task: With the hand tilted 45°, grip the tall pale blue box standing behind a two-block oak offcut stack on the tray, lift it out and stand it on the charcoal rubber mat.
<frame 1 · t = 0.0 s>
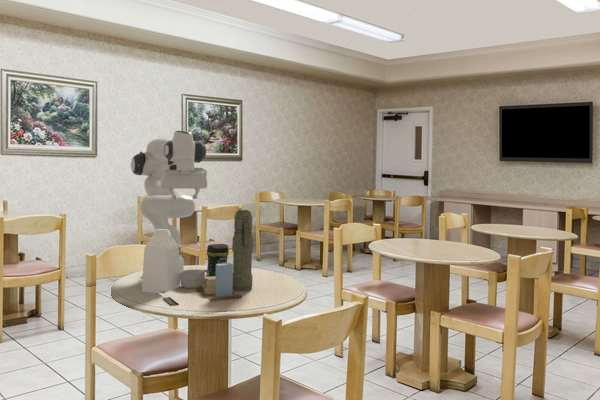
hand: (184, 199, 229), 39 cm above the table, tool pointing down, fingers open, 8 cm apart
thermos: (241, 291, 227), on the table
teacup: (195, 289, 230), on the table
mat: (179, 300, 209), on the table
tall pale blue box: (223, 296, 214), point 1 cm above the table, touching tray
tray: (218, 297, 216), on the table
offcut top: (216, 284, 220), point 4 cm above the table, touching offcut low
coffee jar: (217, 285, 238), on the table
offcut low: (216, 291, 220), point 1 cm above the table, touching offcut top, tray
milk: (161, 290, 226), on the table
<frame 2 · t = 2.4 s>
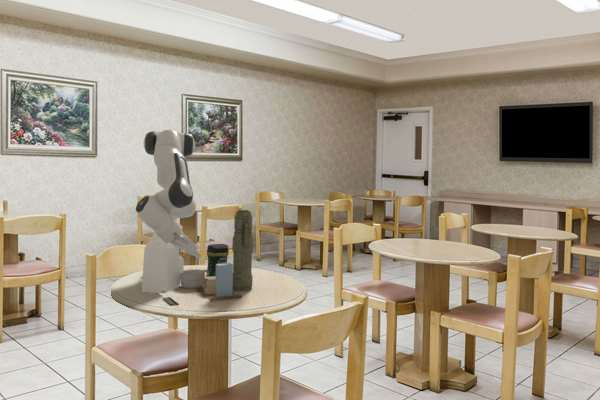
hand: (195, 255, 206), 19 cm above the table, tool tilted 45°, fingers open, 8 cm apart
nothing on the table moved.
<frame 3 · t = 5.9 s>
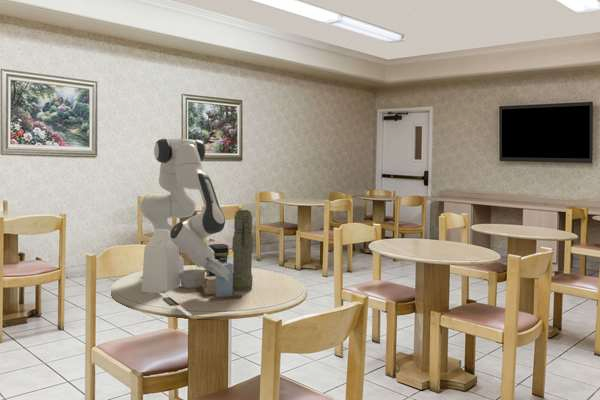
hand: (225, 278, 213), 8 cm above the table, tool tilted 45°, fingers closed on tall pale blue box, 3 cm apart
tall pale blue box: (223, 296, 214), point 1 cm above the table, touching gripper, tray
everything else where it was.
when the fingers open (9 cm above the table, at t = 12.2 s): tall pale blue box drops 2 cm, resting on mat.
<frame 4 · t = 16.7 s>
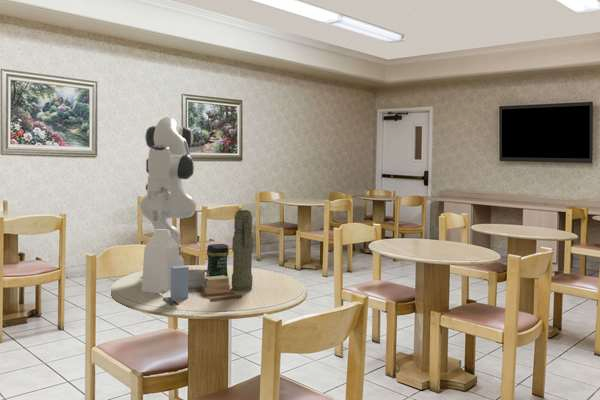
hand: (159, 222, 207), 31 cm above the table, tool pointing down, fingers open, 8 cm apart
tall pale blue box: (179, 299, 209), point 1 cm above the table, touching mat
everything else where it was.
at the end: tall pale blue box inside the target area (0.1 cm from its centre), point 0.6 cm above the table; tall pale blue box tilted 0°; offcut top moved 0.0 cm from its start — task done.
